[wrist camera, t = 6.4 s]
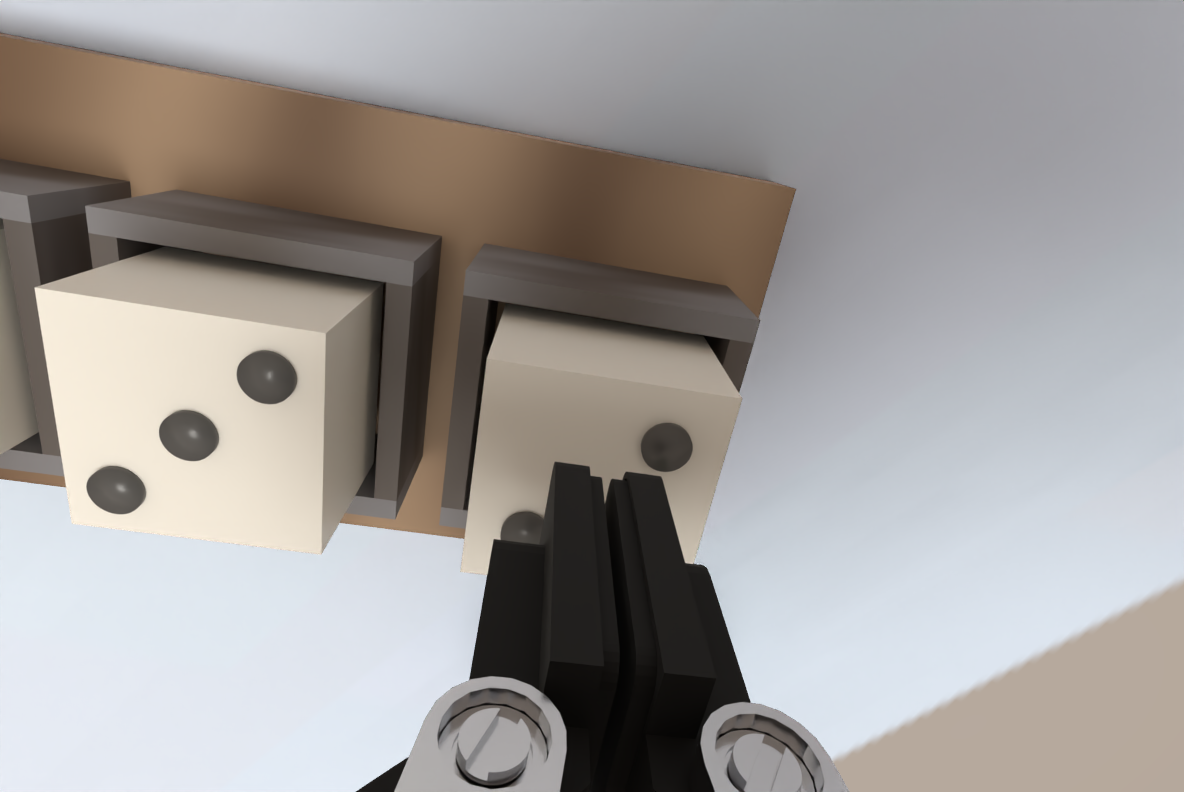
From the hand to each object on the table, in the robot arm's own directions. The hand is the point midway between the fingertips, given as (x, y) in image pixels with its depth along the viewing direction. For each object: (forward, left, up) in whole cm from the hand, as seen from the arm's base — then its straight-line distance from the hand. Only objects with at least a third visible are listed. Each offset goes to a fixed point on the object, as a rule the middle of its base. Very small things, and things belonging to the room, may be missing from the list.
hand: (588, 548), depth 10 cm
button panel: (+7, 0, -9) cm, 12 cm away
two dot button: (0, 0, -5) cm, 5 cm away
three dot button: (+7, 0, -5) cm, 9 cm away
